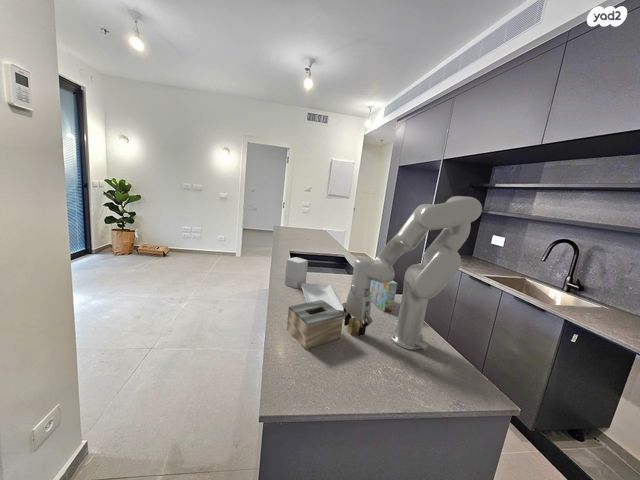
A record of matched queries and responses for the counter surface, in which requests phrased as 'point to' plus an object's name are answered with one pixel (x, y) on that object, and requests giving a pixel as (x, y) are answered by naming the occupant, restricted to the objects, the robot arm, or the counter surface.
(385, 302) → the snack box
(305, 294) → the tray
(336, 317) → the box
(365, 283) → the robot arm
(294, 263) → the supplement box
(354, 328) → the block
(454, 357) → the counter surface
